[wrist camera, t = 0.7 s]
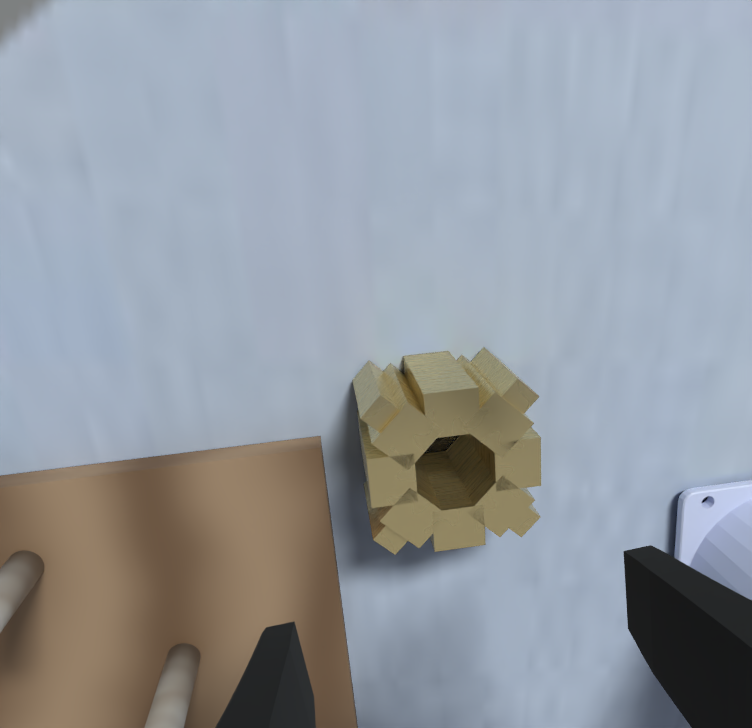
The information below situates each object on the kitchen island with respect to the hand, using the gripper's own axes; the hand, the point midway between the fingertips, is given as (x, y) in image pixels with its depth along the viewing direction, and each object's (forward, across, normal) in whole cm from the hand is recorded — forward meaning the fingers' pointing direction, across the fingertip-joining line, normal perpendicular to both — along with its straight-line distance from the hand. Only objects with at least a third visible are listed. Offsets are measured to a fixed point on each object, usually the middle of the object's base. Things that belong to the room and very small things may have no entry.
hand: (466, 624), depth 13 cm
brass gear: (+9, -1, -1) cm, 9 cm away
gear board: (+9, +11, +9) cm, 17 cm away
